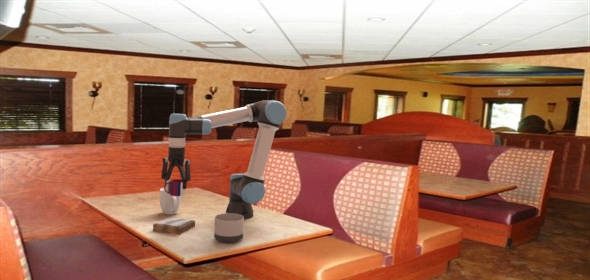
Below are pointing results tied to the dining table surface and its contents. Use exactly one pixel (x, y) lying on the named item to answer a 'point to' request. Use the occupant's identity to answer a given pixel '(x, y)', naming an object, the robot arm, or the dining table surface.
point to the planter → (229, 227)
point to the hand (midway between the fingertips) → (175, 194)
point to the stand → (174, 225)
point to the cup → (174, 187)
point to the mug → (169, 203)
